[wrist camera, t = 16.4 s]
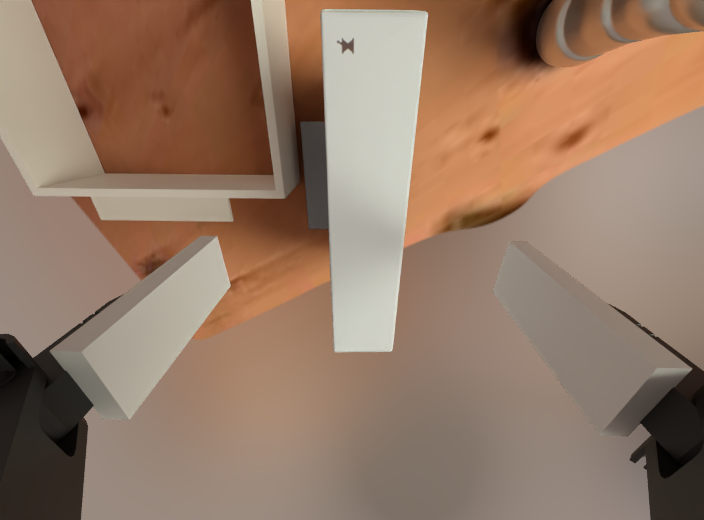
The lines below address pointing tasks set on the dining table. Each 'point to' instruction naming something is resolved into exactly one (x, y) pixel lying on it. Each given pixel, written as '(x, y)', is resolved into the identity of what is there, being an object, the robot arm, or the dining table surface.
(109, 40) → the dining table surface
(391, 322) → the skincare box
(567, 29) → the plastic bottle
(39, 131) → the tray
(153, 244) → the dining table surface
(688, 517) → the robot arm
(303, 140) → the plate
